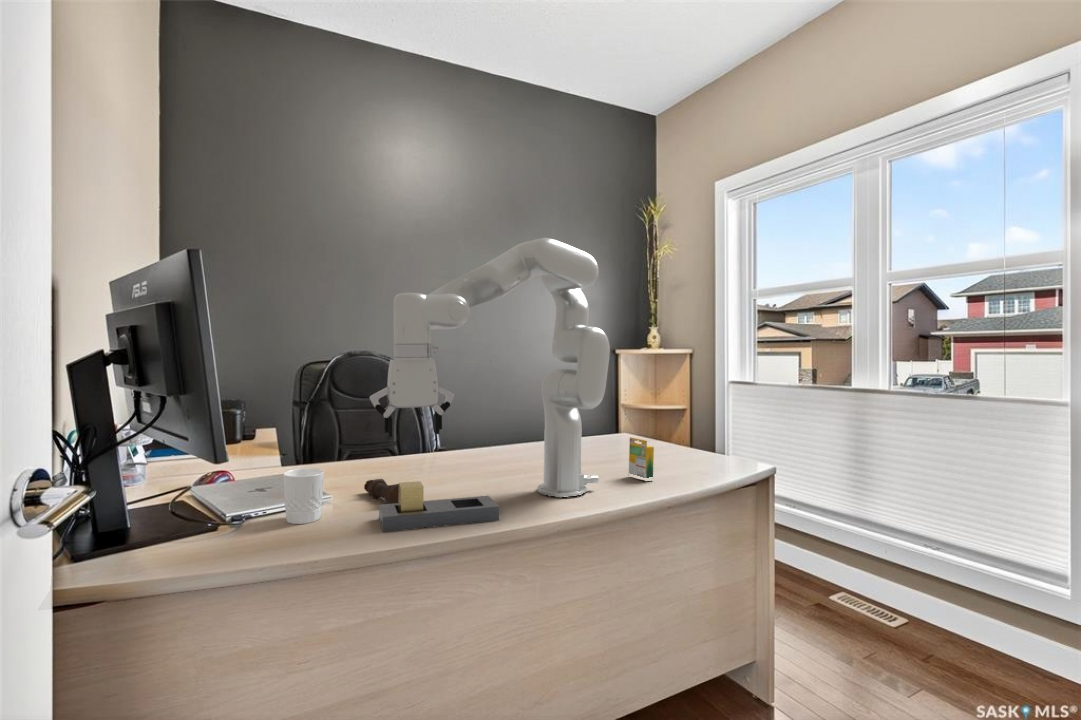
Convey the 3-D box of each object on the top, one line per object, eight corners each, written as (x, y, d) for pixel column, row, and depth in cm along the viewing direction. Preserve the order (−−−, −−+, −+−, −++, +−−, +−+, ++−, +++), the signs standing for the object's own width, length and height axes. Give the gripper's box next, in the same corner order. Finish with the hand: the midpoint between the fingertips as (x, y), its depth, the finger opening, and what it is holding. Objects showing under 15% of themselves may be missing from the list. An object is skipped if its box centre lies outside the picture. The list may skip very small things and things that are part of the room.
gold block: (419, 518, 118) (420, 481, 118) (423, 524, 114) (423, 486, 114) (398, 520, 117) (398, 482, 116) (400, 526, 112) (401, 488, 112)
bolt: (372, 500, 138) (401, 512, 127) (355, 493, 135) (383, 504, 124) (383, 478, 140) (412, 488, 129) (366, 470, 137) (395, 480, 126)
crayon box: (653, 481, 155) (654, 440, 154) (645, 482, 153) (646, 441, 153) (636, 475, 161) (636, 436, 160) (628, 477, 159) (629, 437, 159)
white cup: (318, 524, 113) (319, 476, 113) (278, 526, 112) (278, 477, 111) (327, 513, 121) (327, 467, 120) (289, 514, 119) (289, 468, 119)
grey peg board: (488, 508, 126) (488, 495, 126) (499, 520, 117) (499, 506, 117) (379, 518, 117) (379, 504, 117) (382, 532, 109) (382, 517, 109)
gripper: (450, 352, 121) (450, 429, 122) (368, 352, 115) (369, 434, 116) (457, 352, 114) (458, 435, 115) (370, 353, 108) (371, 440, 109)
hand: (413, 434), depth 115 cm, fingers open, 9 cm apart
